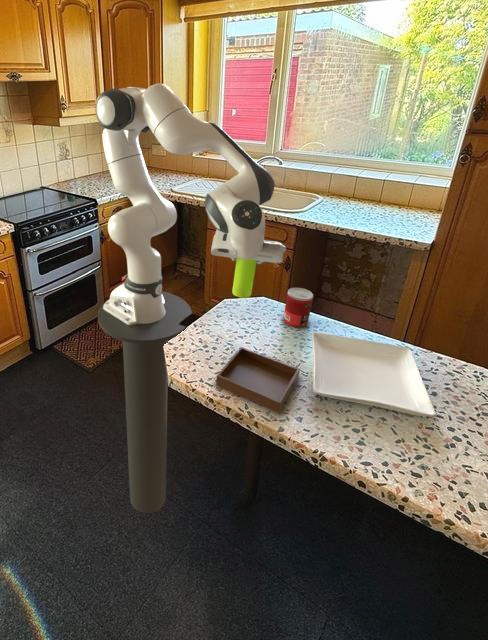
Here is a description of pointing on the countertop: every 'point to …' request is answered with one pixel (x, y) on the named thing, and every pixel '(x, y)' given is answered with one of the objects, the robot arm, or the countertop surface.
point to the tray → (258, 378)
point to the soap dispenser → (244, 277)
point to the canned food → (298, 307)
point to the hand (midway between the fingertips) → (246, 259)
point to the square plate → (369, 374)
